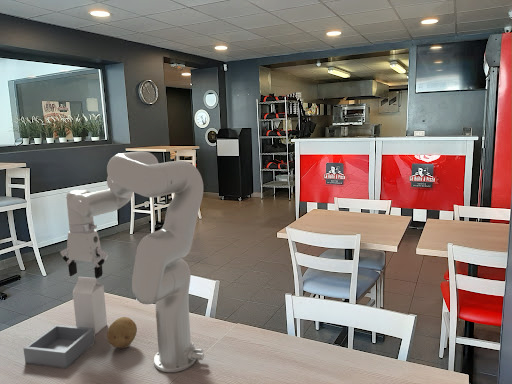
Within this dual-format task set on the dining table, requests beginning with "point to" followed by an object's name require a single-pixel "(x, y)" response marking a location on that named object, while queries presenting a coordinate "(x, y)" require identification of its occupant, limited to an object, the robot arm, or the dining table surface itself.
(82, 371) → the dining table surface
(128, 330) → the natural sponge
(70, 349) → the box
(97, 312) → the milk carton
